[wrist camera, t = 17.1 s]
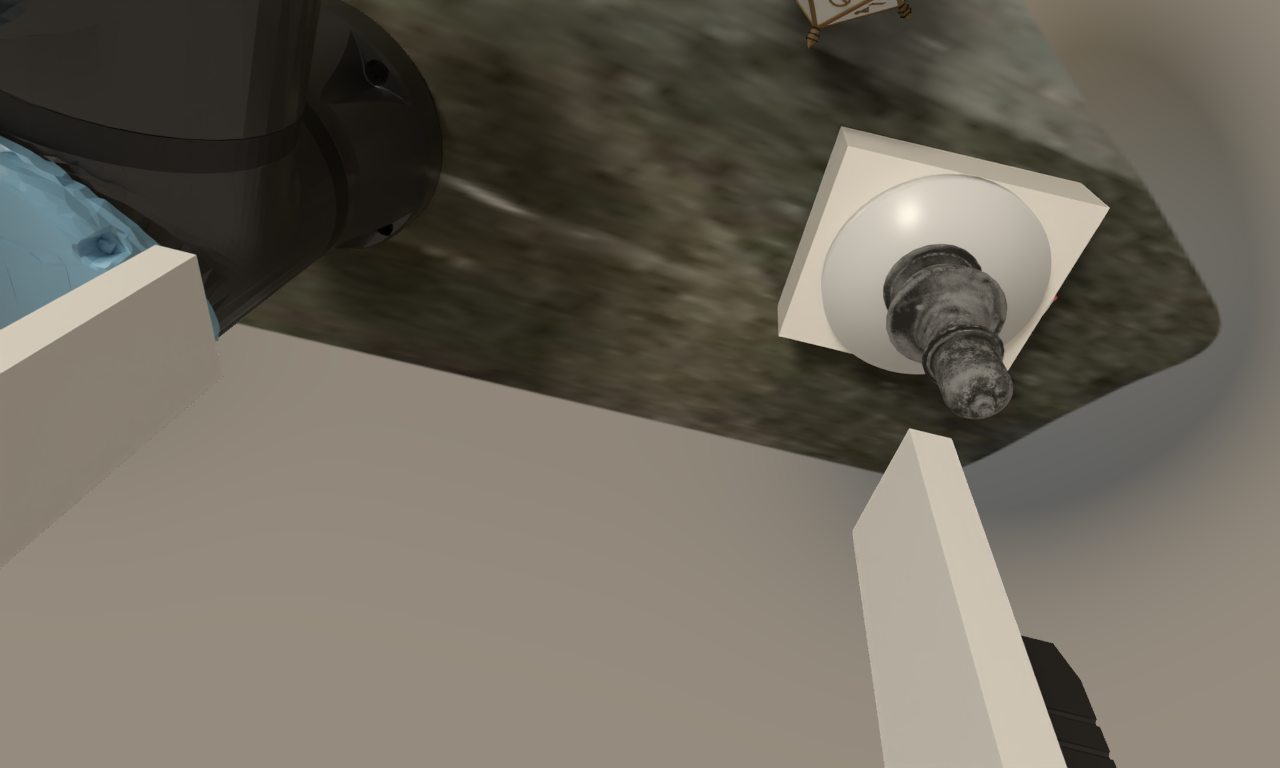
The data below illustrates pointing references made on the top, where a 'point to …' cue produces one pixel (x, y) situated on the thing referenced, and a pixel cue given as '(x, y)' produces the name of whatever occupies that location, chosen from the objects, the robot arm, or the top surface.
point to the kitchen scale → (927, 240)
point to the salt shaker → (951, 326)
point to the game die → (845, 12)
